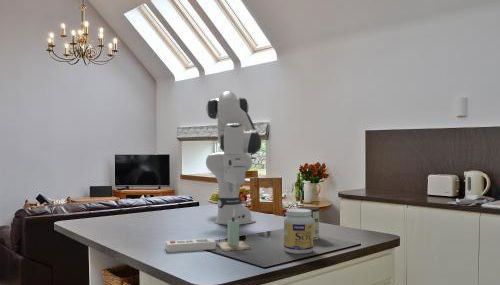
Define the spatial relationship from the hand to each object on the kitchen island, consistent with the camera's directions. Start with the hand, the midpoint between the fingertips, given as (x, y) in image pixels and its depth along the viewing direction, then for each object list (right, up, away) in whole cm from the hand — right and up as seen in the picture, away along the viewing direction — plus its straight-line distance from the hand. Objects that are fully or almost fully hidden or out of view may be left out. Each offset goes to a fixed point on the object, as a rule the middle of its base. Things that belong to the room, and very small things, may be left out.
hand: (233, 193), depth 196 cm
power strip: (-18, -23, -4) cm, 29 cm away
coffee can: (+34, -23, +20) cm, 46 cm away
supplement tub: (+27, -23, -6) cm, 36 cm away
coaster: (0, -23, 0) cm, 23 cm away
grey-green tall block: (0, -22, 0) cm, 22 cm away
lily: (+28, -23, +41) cm, 55 cm away
